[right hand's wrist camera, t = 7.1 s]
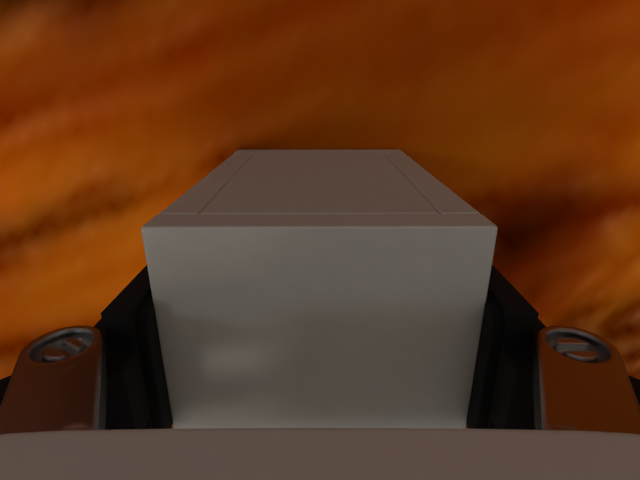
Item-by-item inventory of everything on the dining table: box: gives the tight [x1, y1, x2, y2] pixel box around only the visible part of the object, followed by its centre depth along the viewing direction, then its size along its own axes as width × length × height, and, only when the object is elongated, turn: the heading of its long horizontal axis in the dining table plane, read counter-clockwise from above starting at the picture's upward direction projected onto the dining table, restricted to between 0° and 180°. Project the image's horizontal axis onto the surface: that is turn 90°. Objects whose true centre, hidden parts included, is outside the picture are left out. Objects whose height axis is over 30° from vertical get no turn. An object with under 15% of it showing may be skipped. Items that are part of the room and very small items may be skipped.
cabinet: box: [141, 149, 497, 429], centre depth 15 cm, size 16×6×9 cm, turn 0°
